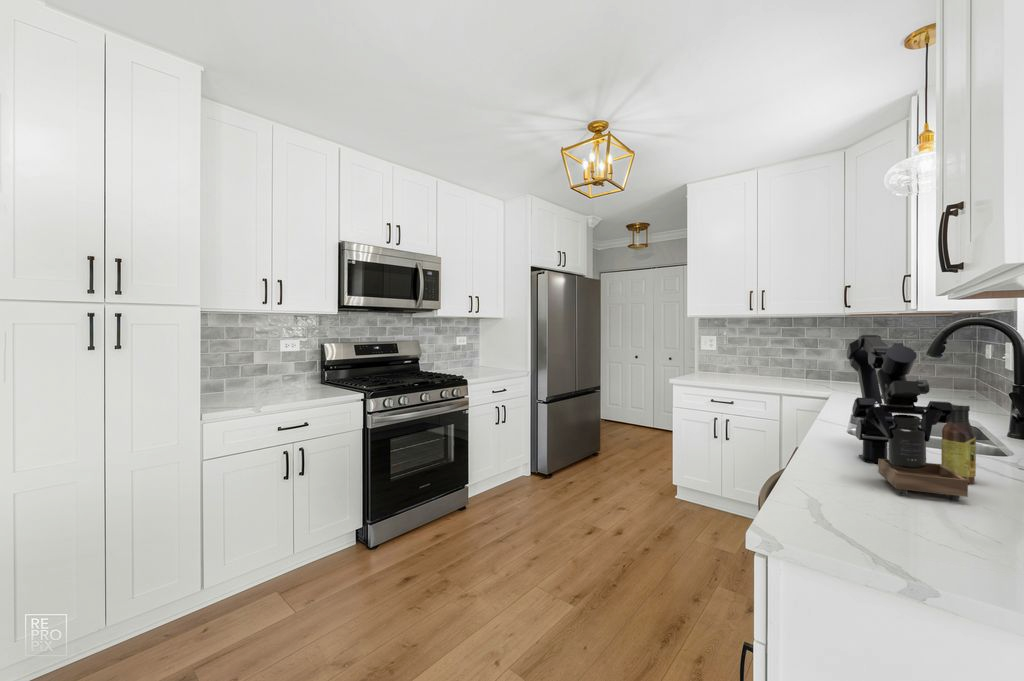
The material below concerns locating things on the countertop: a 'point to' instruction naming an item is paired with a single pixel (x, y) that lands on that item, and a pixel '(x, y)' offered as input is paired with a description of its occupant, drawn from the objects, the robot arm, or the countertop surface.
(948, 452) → the sauce bottle
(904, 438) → the supplement bottle
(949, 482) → the square wooden tray
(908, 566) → the countertop surface
